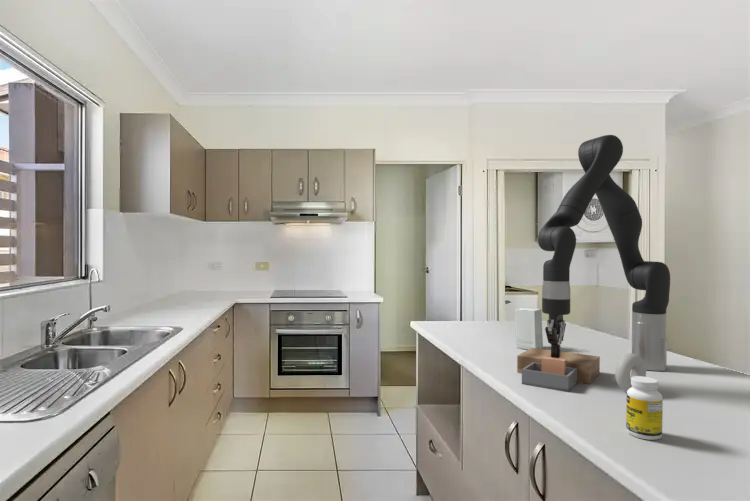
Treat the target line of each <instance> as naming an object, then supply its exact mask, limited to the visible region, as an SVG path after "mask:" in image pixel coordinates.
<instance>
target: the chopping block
mask: <svg viewBox="0 0 750 501" xmlns="http://www.w3.org/2000/svg"><path fill="white" fill-rule="evenodd" d="M516 356H517V357H516V358H517V359H516V361H517V364H516V365H517V366H516V370H517V371H516V372H517V373H519V374H522V369H523V368H525V367H526V366H528V365H529V364H531V363H533V362H536V363H542V357H544V356H545V357H551V349H546V348H545V349H544V348H543V349H537V348H531V349H529V350H527V349H526V350H525V351H523V352H522V353H520V354H518V355H516ZM559 358H560V359H566V367H570V368H577V383H579V382H580V383H581V384H585V383H586V384H587V385H590V384H591V383H592V382H594V380H595V379H596V378H597V377H598V376H599V375H598V374H600V370H601V368H600V363H601V361H600V359H601V357H600V356H598V355H591V354H585V353H584V354H582V353H576V352H575V353H574V352H568V351H567V352H566V351H561V350H560V357H559ZM597 375H598V376H597Z"/></svg>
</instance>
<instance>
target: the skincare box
mask: <svg viewBox="0 0 750 501" xmlns="http://www.w3.org/2000/svg"><path fill="white" fill-rule="evenodd" d="M542 313H543V312H542V308H529V307H528V308H525V307H519V308H516V309H514V320H515V321H514V323H515V326H514V327H515V348H516V349H521V350H526V351H527V350H529V349H531V348H537V349H544V341H543V340H544V339H543V336H544V335H543V316H542Z"/></svg>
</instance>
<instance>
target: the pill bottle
mask: <svg viewBox="0 0 750 501" xmlns="http://www.w3.org/2000/svg"><path fill="white" fill-rule="evenodd" d="M631 385H632V387H631V388H629V389H628V391H627V392H626V408H625V409H626V411H625V412H626V413H625V414H626V422H625V423H626V425H625V426H626V427H625V428H626V429H625V430H626V432H627V433H628V434H629V435H631V436H632V437H634V438H638V439H641V440H647V441H648V440H649V441H656V440H657V441H658V440H660V439H662V436H663V414H664V413H663V409H664V408H663V405H664V404H663V400H664V399H663V395H662V393H660V391H659V390H658V389H659V380H657V379H655V378H652V377H648V376H646V377H643V376H634V377H631Z"/></svg>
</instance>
